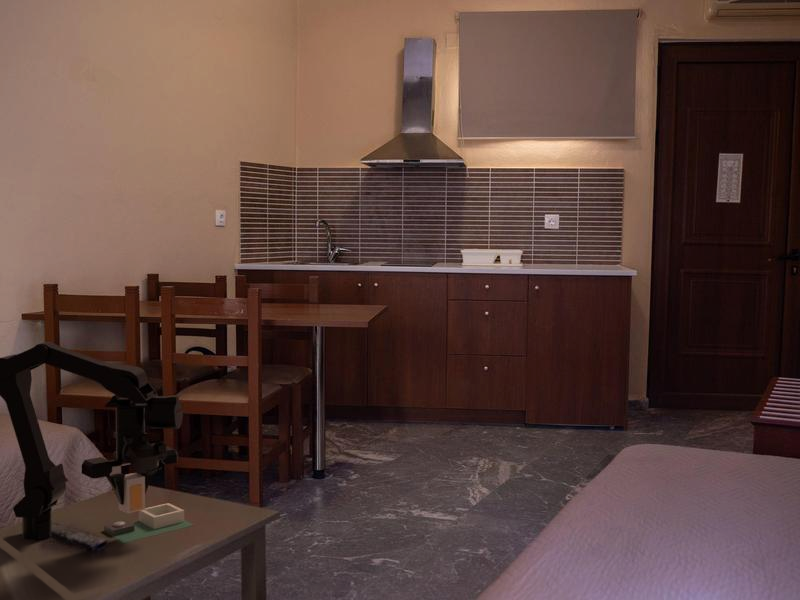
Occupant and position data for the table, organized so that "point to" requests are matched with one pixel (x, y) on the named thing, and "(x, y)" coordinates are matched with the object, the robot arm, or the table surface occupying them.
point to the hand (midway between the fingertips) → (131, 502)
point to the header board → (155, 522)
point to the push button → (119, 528)
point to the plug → (133, 493)
